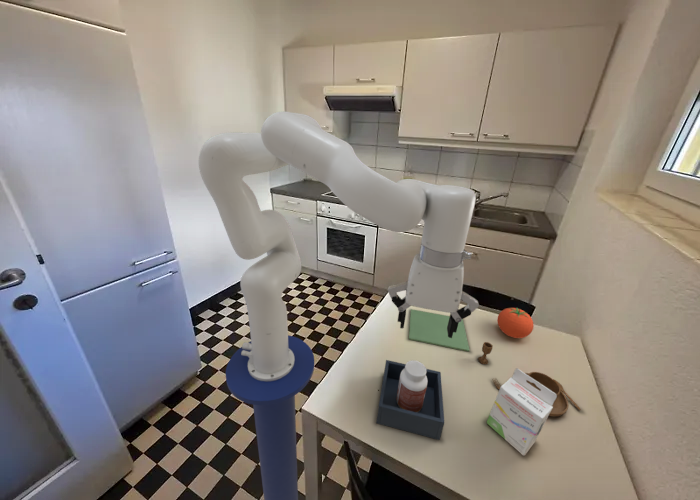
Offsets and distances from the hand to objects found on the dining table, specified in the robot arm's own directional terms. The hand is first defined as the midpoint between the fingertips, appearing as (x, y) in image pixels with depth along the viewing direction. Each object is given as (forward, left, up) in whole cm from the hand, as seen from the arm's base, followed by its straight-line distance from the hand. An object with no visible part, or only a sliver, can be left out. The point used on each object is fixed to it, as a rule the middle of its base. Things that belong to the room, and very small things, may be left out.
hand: (425, 328), depth 58 cm
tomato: (+32, +36, -22) cm, 53 cm away
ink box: (+22, -1, -22) cm, 31 cm away
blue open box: (0, 0, -22) cm, 22 cm away
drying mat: (+8, +31, -22) cm, 38 cm away
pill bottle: (0, 0, -22) cm, 22 cm away
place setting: (+30, +15, -22) cm, 40 cm away
